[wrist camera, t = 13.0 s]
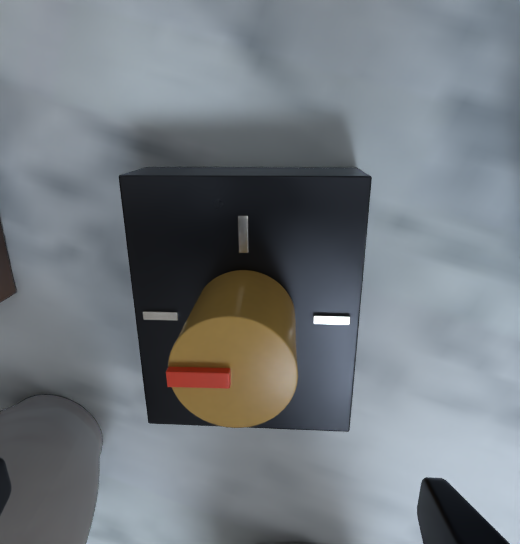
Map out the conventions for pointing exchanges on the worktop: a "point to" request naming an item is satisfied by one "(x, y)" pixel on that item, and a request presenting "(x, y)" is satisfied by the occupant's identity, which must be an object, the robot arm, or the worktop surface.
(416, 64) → the worktop surface
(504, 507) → the worktop surface
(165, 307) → the dimmer panel
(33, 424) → the mug
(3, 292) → the switch block
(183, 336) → the dimmer knob
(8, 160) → the worktop surface
